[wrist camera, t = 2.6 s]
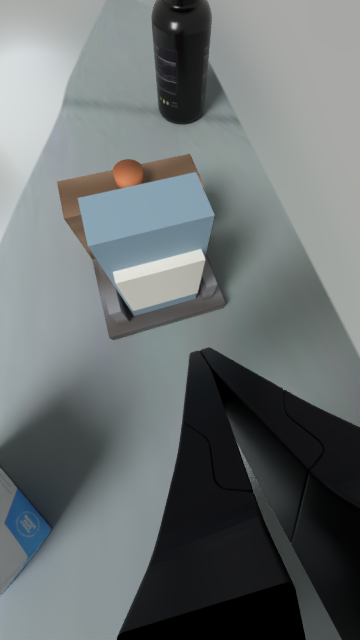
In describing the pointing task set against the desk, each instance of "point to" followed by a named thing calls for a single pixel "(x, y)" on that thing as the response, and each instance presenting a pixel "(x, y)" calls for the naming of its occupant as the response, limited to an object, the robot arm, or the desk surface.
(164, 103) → the supplement bottle
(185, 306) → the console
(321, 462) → the robot arm
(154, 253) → the blue white block
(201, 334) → the desk surface
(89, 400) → the desk surface
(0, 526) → the ink box
